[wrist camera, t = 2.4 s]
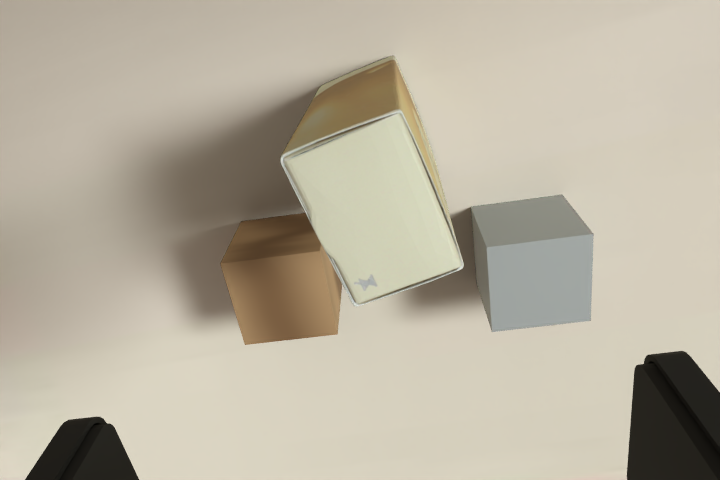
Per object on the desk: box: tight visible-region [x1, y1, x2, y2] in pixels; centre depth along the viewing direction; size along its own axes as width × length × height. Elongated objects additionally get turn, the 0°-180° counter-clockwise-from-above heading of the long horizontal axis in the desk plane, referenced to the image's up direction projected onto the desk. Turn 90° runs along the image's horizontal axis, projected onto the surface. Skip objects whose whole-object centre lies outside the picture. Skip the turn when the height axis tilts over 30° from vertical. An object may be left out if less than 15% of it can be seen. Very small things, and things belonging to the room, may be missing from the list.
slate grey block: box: [471, 195, 593, 332], centre depth 30 cm, size 5×5×5 cm
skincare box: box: [280, 56, 464, 307], centre depth 24 cm, size 6×4×12 cm
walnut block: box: [220, 213, 342, 345], centre depth 31 cm, size 5×5×5 cm
